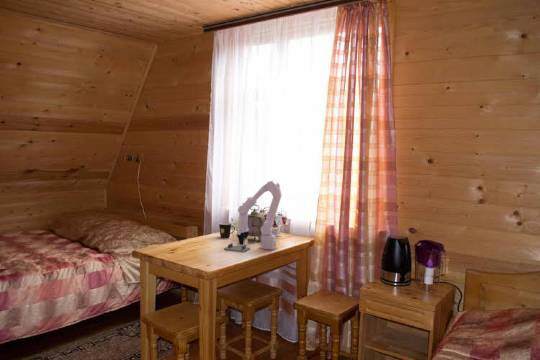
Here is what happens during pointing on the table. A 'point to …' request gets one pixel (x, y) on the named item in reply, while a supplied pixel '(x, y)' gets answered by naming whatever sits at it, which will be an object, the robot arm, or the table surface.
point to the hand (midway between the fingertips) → (242, 243)
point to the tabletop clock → (255, 223)
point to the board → (237, 248)
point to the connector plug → (243, 242)
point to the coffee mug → (225, 229)
